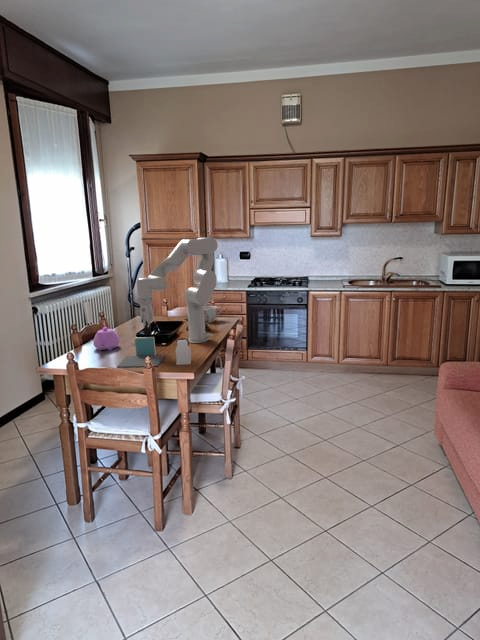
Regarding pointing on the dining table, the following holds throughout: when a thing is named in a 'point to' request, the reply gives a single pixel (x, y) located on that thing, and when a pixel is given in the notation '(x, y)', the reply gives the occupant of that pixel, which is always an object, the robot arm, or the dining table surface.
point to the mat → (140, 361)
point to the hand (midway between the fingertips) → (147, 334)
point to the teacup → (211, 312)
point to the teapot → (106, 339)
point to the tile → (145, 346)
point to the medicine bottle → (183, 352)
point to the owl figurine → (204, 320)
